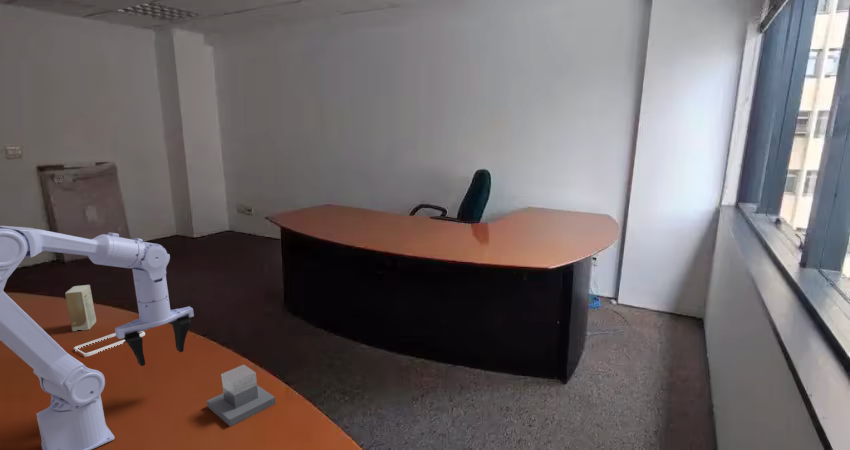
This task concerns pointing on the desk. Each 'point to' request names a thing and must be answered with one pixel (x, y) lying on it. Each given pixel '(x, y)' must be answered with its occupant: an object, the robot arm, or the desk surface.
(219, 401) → the stand
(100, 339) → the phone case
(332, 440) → the desk surface
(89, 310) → the skincare box
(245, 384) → the block
